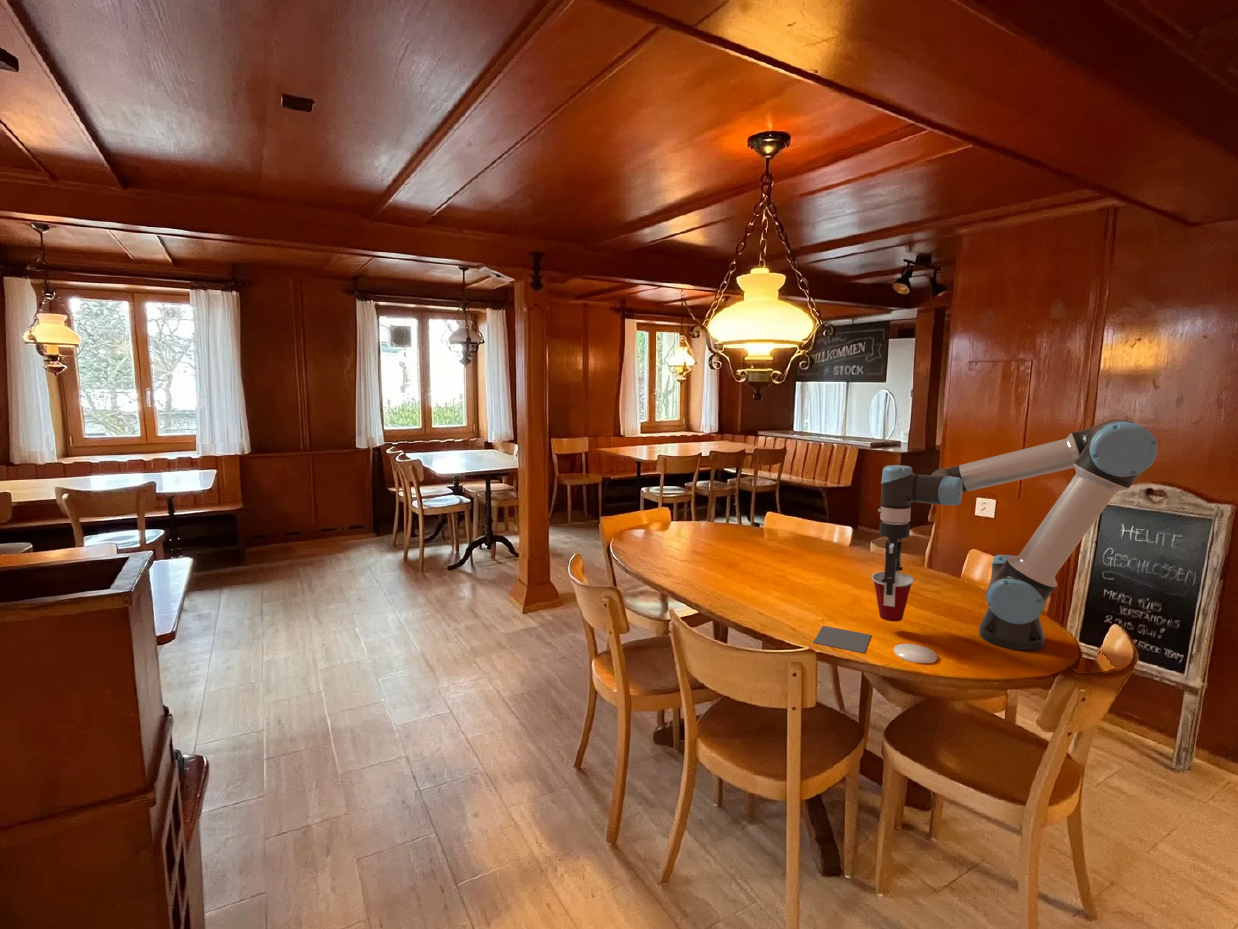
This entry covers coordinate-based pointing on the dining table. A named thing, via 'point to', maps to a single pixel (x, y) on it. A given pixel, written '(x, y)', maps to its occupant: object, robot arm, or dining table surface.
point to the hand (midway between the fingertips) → (891, 599)
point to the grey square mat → (842, 639)
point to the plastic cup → (901, 595)
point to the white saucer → (915, 653)
